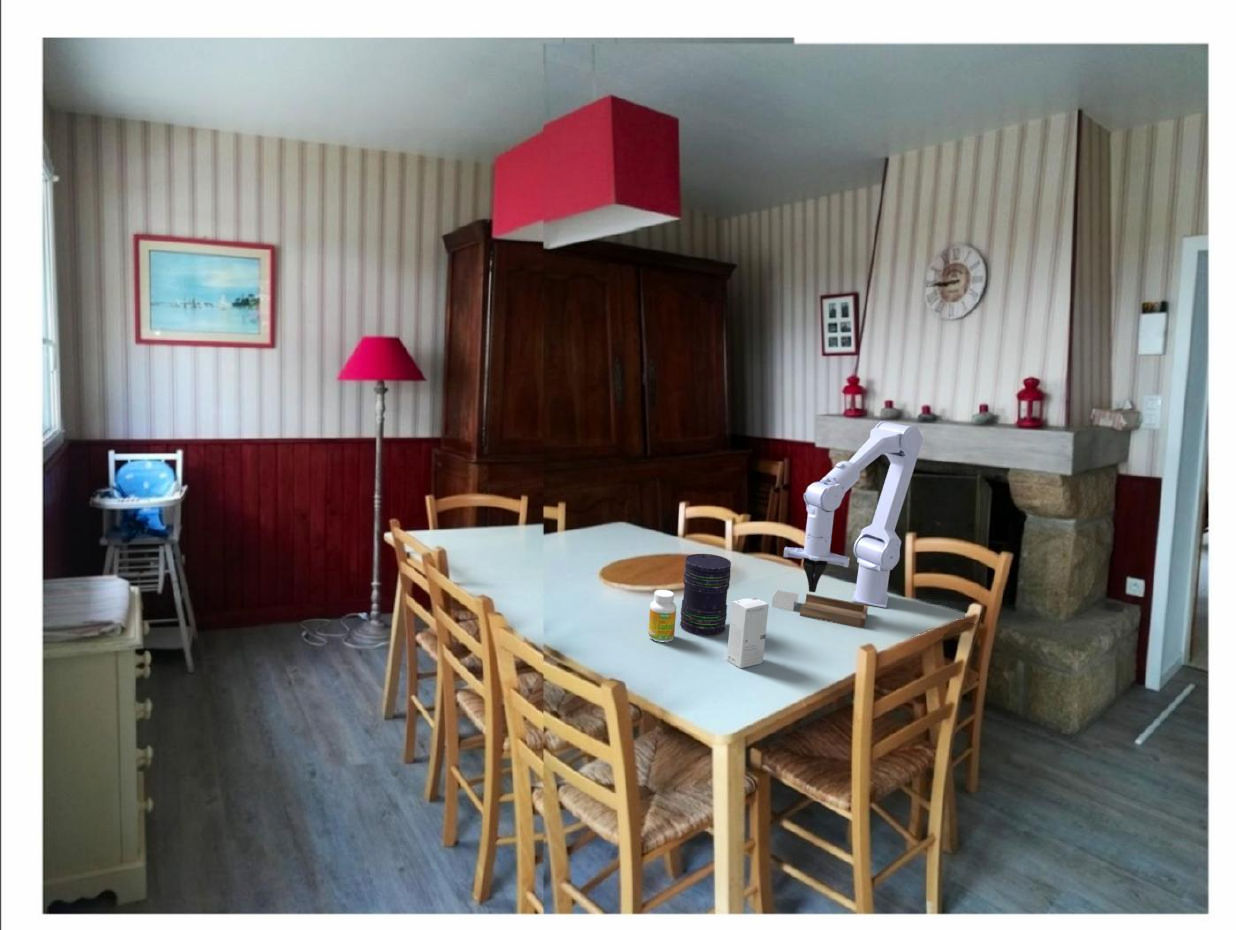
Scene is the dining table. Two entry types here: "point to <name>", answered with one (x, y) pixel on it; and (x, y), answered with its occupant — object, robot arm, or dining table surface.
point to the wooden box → (834, 610)
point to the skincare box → (747, 632)
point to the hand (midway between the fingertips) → (812, 590)
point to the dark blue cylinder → (705, 594)
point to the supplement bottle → (662, 616)
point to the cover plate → (785, 600)
